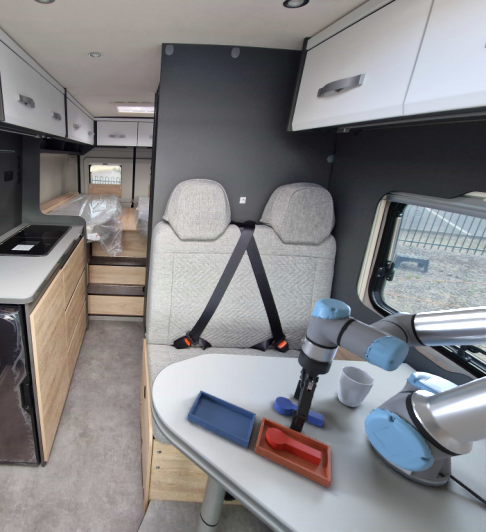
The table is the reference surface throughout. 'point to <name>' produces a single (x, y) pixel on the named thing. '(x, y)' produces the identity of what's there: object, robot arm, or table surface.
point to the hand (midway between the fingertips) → (296, 413)
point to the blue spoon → (287, 407)
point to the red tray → (292, 461)
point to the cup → (354, 385)
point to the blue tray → (222, 418)
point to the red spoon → (291, 446)
